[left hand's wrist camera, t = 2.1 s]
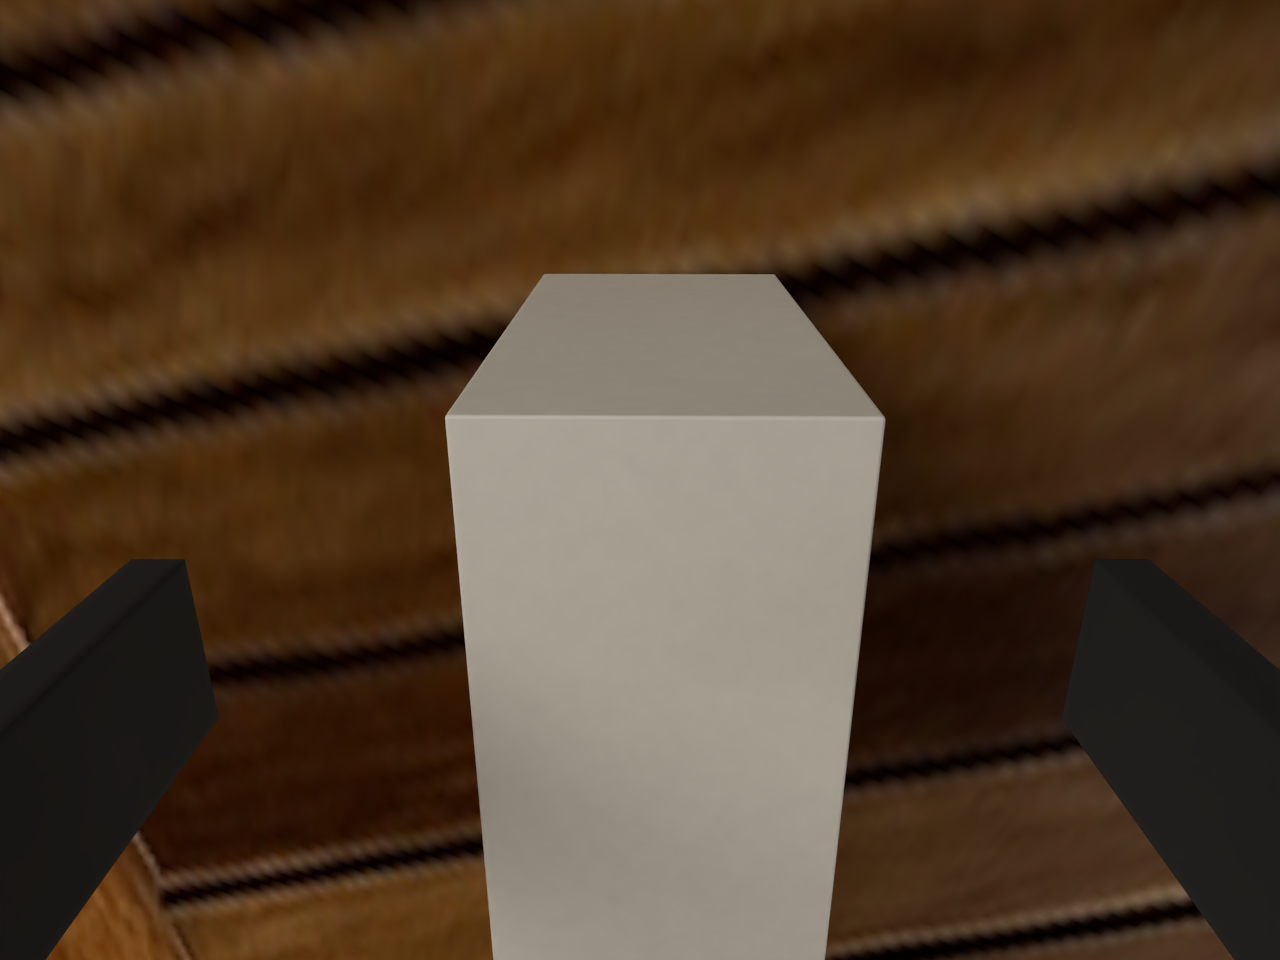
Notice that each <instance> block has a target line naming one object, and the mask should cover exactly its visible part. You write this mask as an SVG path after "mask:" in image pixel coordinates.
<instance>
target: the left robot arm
mask: <svg viewBox="0 0 1280 960" xmlns="http://www.w3.org/2000/svg"><path fill="white" fill-rule="evenodd" d="M218 718H219V717H218V713H217V708H216V703H215V699H214V694H213V690H212V685H211V680H210V676H209V671H208V666H207V662H206V657H205V652H204V648H203V643H202V638H201V634H200V629H199V624H198V620H197V615H196V611H195V606H194V601H193V597H192V592H191V587H190V583H189V578H188V573H187V569H186V564H185V559H131V560H130V561H129V562H128V563H127V564H125V565H124V566H123V567H122V568H121V569H119V570H118V571H117V572H116V573H115V574H114V575H112V576H111V577H110V578H109V579H108V580H106V581H105V582H104V583H103V584H102V585H101V586H99V587H98V588H97V589H96V590H95V591H93V592H92V593H91V594H90V595H89V596H87V597H86V598H85V599H84V600H83V601H82V602H80V603H79V604H78V605H77V606H76V607H74V608H73V609H72V610H71V611H70V612H69V613H67V614H66V615H65V616H64V617H63V618H61V619H60V620H59V621H58V622H57V623H56V624H54V625H53V626H52V627H51V628H50V629H48V630H47V631H46V632H45V633H44V634H43V635H41V636H40V637H39V638H38V639H37V640H35V641H34V642H33V643H32V644H31V645H29V646H28V647H27V648H26V649H25V650H24V651H22V652H21V653H20V654H19V655H18V656H16V657H15V658H14V659H13V660H12V661H11V662H9V663H8V664H7V665H6V666H5V667H3V668H2V669H1V670H0V960H46V958H47V957H48V955H49V954H50V953H51V951H52V950H53V948H54V947H55V946H56V944H57V943H58V941H59V940H60V939H61V937H62V936H63V934H64V933H65V932H66V930H67V929H68V927H69V926H70V925H71V923H72V922H73V920H74V919H75V918H76V916H77V915H78V913H79V912H80V911H81V909H82V908H83V906H84V905H85V904H86V902H87V901H88V900H89V898H90V897H91V895H92V894H93V893H94V891H95V890H96V888H97V887H98V886H99V884H100V883H101V881H102V880H103V879H104V877H105V876H106V874H107V873H108V872H109V870H110V869H111V867H112V866H113V865H114V863H115V862H116V860H117V859H118V858H119V856H120V855H121V853H122V852H123V851H124V849H125V848H126V846H127V845H128V844H129V842H130V841H131V839H132V838H133V837H134V835H135V834H136V833H137V831H138V830H139V828H140V827H141V826H142V824H143V823H144V821H145V820H146V819H147V817H148V816H149V814H150V813H151V812H152V810H153V809H154V807H155V806H156V805H157V803H158V802H159V800H160V799H161V798H162V796H163V795H164V793H165V792H166V791H167V789H168V788H169V786H170V785H171V784H172V782H173V781H174V779H175V778H176V777H177V775H178V774H179V772H180V771H181V770H182V768H183V767H184V766H185V764H186V763H187V761H188V760H189V759H190V757H191V756H192V754H193V753H194V752H195V750H196V749H197V747H198V746H199V745H200V743H201V742H202V740H203V739H204V738H205V736H206V735H207V733H208V732H209V731H210V729H211V728H212V726H213V725H214V724H215V722H216V721H217V719H218ZM1061 718H1062V719H1063V721H1064V722H1065V724H1066V725H1067V726H1068V728H1069V729H1070V731H1071V732H1072V733H1073V735H1074V736H1075V738H1076V739H1077V740H1078V742H1079V743H1080V745H1081V746H1082V747H1083V749H1084V750H1085V752H1086V753H1087V754H1088V756H1089V757H1090V759H1091V760H1092V761H1093V763H1094V764H1095V766H1096V767H1097V768H1098V770H1099V771H1100V773H1101V774H1102V775H1103V777H1104V778H1105V779H1106V781H1107V782H1108V784H1109V785H1110V786H1111V788H1112V789H1113V791H1114V792H1115V793H1116V795H1117V796H1118V798H1119V799H1120V800H1121V802H1122V803H1123V805H1124V806H1125V807H1126V809H1127V810H1128V812H1129V813H1130V814H1131V816H1132V817H1133V819H1134V820H1135V821H1136V823H1137V824H1138V826H1139V827H1140V828H1141V830H1142V831H1143V833H1144V834H1145V835H1146V837H1147V838H1148V839H1149V841H1150V842H1151V844H1152V845H1153V846H1154V848H1155V849H1156V851H1157V852H1158V853H1159V855H1160V856H1161V858H1162V859H1163V860H1164V862H1165V863H1166V865H1167V866H1168V867H1169V869H1170V870H1171V872H1172V873H1173V874H1174V876H1175V877H1176V879H1177V880H1178V881H1179V883H1180V884H1181V886H1182V887H1183V888H1184V890H1185V891H1186V893H1187V894H1188V895H1189V897H1190V898H1191V900H1192V901H1193V902H1194V904H1195V905H1196V906H1197V908H1198V909H1199V911H1200V912H1201V913H1202V915H1203V916H1204V918H1205V919H1206V920H1207V922H1208V923H1209V925H1210V926H1211V927H1212V929H1213V930H1214V932H1215V933H1216V934H1217V936H1218V937H1219V939H1220V940H1221V941H1222V943H1223V944H1224V946H1225V947H1226V948H1227V950H1228V951H1229V953H1230V954H1231V955H1232V957H1233V958H1234V960H1280V670H1279V669H1278V668H1277V667H1275V666H1274V665H1273V664H1272V663H1271V662H1269V661H1268V660H1267V659H1266V658H1265V657H1264V656H1262V655H1261V654H1260V653H1259V652H1258V651H1256V650H1255V649H1254V648H1253V647H1252V646H1251V645H1249V644H1248V643H1247V642H1246V641H1245V640H1243V639H1242V638H1241V637H1240V636H1239V635H1237V634H1236V633H1235V632H1234V631H1233V630H1232V629H1230V628H1229V627H1228V626H1227V625H1226V624H1224V623H1223V622H1222V621H1221V620H1220V619H1219V618H1217V617H1216V616H1215V615H1214V614H1213V613H1211V612H1210V611H1209V610H1208V609H1207V608H1206V607H1204V606H1203V605H1202V604H1201V603H1200V602H1198V601H1197V600H1196V599H1195V598H1194V597H1192V596H1191V595H1190V594H1189V593H1188V592H1187V591H1185V590H1184V589H1183V588H1182V587H1181V586H1179V585H1178V584H1177V583H1176V582H1175V581H1174V580H1172V579H1171V578H1170V577H1169V576H1168V575H1166V574H1165V573H1164V572H1163V571H1162V570H1161V569H1159V568H1158V567H1157V566H1156V565H1155V564H1153V563H1152V562H1151V561H1150V560H1149V559H1095V564H1094V569H1093V573H1092V578H1091V583H1090V587H1089V592H1088V597H1087V601H1086V606H1085V610H1084V615H1083V620H1082V624H1081V629H1080V634H1079V638H1078V643H1077V648H1076V652H1075V657H1074V662H1073V666H1072V671H1071V676H1070V680H1069V685H1068V689H1067V694H1066V699H1065V703H1064V708H1063V713H1062V717H1061Z"/></svg>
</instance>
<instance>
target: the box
mask: <svg viewBox="0 0 1280 960" xmlns="http://www.w3.org/2000/svg"><path fill="white" fill-rule="evenodd" d="M445 423H446V434H447V445H448V456H449V467H450V478H451V490H452V501H453V512H454V523H455V534H456V545H457V557H458V568H459V579H460V590H461V601H462V613H463V624H464V635H465V646H466V657H467V668H468V680H469V691H470V702H471V713H472V724H473V736H474V747H475V758H476V769H477V780H478V791H479V803H480V814H481V825H482V836H483V847H484V858H485V870H486V881H487V892H488V903H489V914H490V926H491V937H492V948H493V959H494V960H825V953H826V945H827V936H828V927H829V918H830V909H831V900H832V891H833V882H834V873H835V864H836V856H837V847H838V838H839V829H840V820H841V811H842V802H843V793H844V784H845V775H846V766H847V758H848V749H849V740H850V731H851V722H852V713H853V704H854V695H855V686H856V677H857V669H858V660H859V651H860V642H861V633H862V624H863V615H864V606H865V597H866V588H867V580H868V571H869V562H870V553H871V544H872V535H873V526H874V517H875V508H876V499H877V491H878V482H879V473H880V464H881V455H882V446H883V437H884V428H885V417H884V416H883V415H882V413H881V412H880V411H879V409H878V408H877V407H876V405H875V404H874V403H873V402H872V400H871V399H870V398H869V396H868V395H867V394H866V392H865V391H864V390H863V389H862V387H861V386H860V385H859V383H858V382H857V381H856V380H855V378H854V377H853V376H852V374H851V373H850V372H849V370H848V369H847V368H846V367H845V365H844V364H843V363H842V361H841V360H840V359H839V357H838V356H837V355H836V354H835V352H834V351H833V350H832V348H831V347H830V346H829V345H828V343H827V342H826V341H825V339H824V338H823V337H822V335H821V334H820V333H819V332H818V330H817V329H816V328H815V326H814V325H813V324H812V322H811V321H810V320H809V319H808V317H807V316H806V315H805V313H804V312H803V311H802V310H801V308H800V307H799V306H798V304H797V303H796V302H795V300H794V299H793V298H792V297H791V295H790V294H789V293H788V291H787V290H786V289H785V287H784V286H783V285H782V284H781V282H780V281H779V280H778V278H777V277H776V276H775V275H774V274H544V275H543V277H542V278H541V280H540V281H539V282H538V284H537V285H536V287H535V288H534V290H533V291H532V292H531V294H530V295H529V297H528V298H527V300H526V301H525V303H524V304H523V305H522V307H521V308H520V310H519V311H518V313H517V314H516V315H515V317H514V318H513V320H512V321H511V323H510V324H509V326H508V327H507V328H506V330H505V331H504V333H503V334H502V336H501V337H500V338H499V340H498V341H497V343H496V344H495V346H494V347H493V349H492V350H491V351H490V353H489V354H488V356H487V357H486V359H485V360H484V361H483V363H482V364H481V366H480V367H479V369H478V370H477V372H476V373H475V374H474V376H473V377H472V379H471V380H470V382H469V383H468V384H467V386H466V387H465V389H464V390H463V392H462V393H461V395H460V396H459V397H458V399H457V400H456V402H455V403H454V405H453V406H452V407H451V409H450V410H449V412H448V413H447V415H446V417H445Z"/></svg>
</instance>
